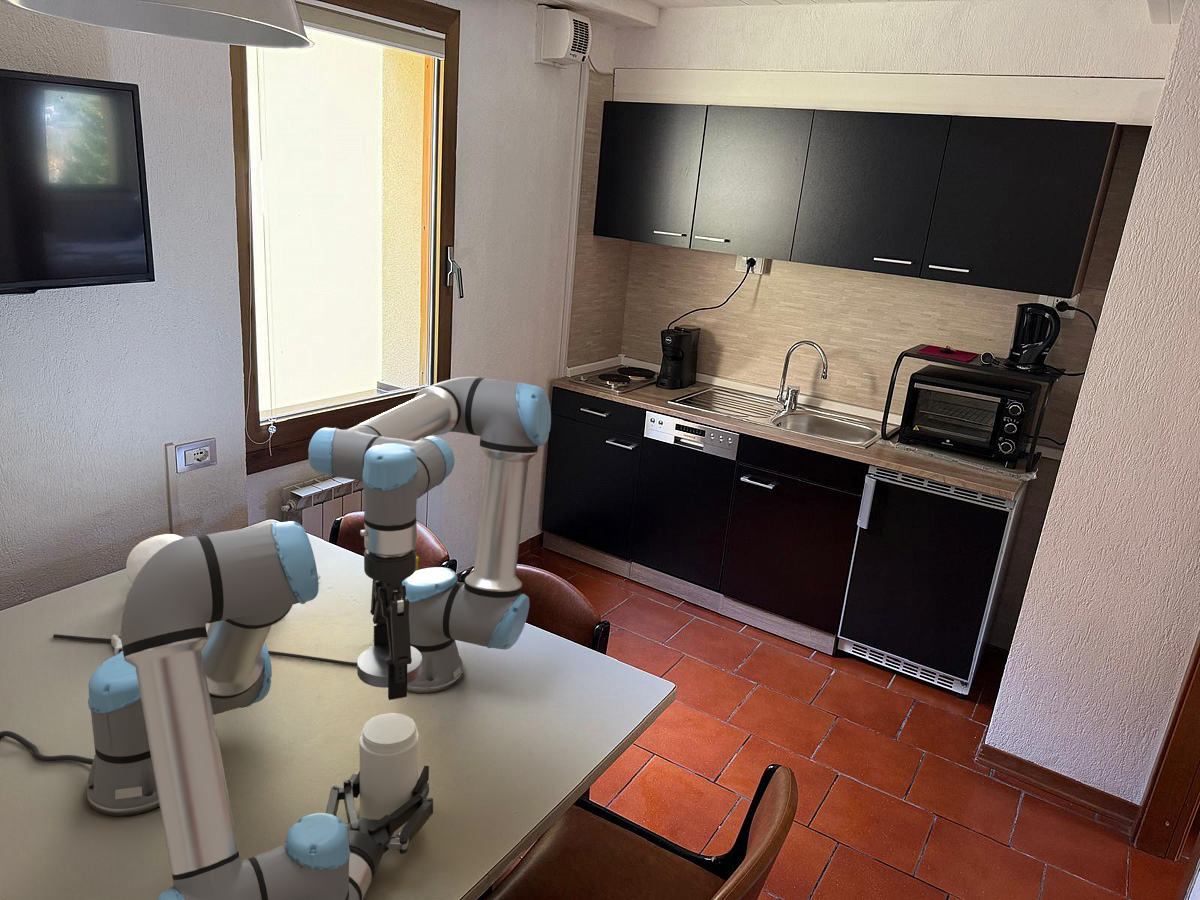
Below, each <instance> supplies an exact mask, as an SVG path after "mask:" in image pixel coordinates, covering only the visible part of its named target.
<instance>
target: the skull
mask: <svg viewBox="0 0 1200 900" xmlns="http://www.w3.org/2000/svg"><path fill="white" fill-rule="evenodd" d="M182 538H184V536H181V535H179V534H174V533H164V534H158V535H154V536H150V537H149V538H146V539H144V540H142V541H140V542H139V543H138V544H137V545H135V546H134V547H133V548H132V550H131V551H130V552H129V554H128V557H127V560H126V564H125V572H126V575H127V579H128V580H129V582H130V584H131V585H132V584H133V582H134V580H135V578H136V576H137V575H138V573H139V572H140V570H141V569H142V567H143V566H144V565H145V564H146V562H147V561H148V560H149V559H150V558H151V557H152V556H153V555H154V554H155V553H156V552H158V551H159V550H160V549H161V548H163V547H164V546H166V545H168V544H169V543H171V542H174V541H176V540H179V539H182Z"/></svg>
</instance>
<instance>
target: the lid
mask: <svg viewBox="0 0 1200 900" xmlns="http://www.w3.org/2000/svg"><path fill="white" fill-rule="evenodd" d="M411 658H412V663H411V664H407V684H408V683H410V682H412V681H414V680H415V679H416V678H417V677H418V676H419V675H420V673H421V671H422V655H421V653H420V652H419V651H418V650H417V649H416V648H414V647H412V646H411ZM389 659H390V652H389V643H384V644H379V645H375V646H374V645H373V646H370V647H368V648H366V649H364V650H363V651H362V652H361V653H359V655H358V657H357V660H356V663H357V666H356V671H357V672H356V673H357V678H359V680H360V681H361V682H363V683H364V684H366V685H368V686H371V687H375V688H382V689H385V688H387V689H388V665H386V663H385V661H387V660H389Z"/></svg>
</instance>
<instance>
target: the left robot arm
mask: <svg viewBox="0 0 1200 900" xmlns="http://www.w3.org/2000/svg"><path fill="white" fill-rule="evenodd" d="M317 573H318V568H317V563H316V559H315V554H314V551H313V547H312V544H311V542H310V538H309V536H308V534H307V531H306V530H305V528H304V527H303V526H302V524H300V523H299V522H297V521H293V520H290V521H289V520H288V521H279V522H278V521H272V522H271V523H269V524H263V525H258V526H251V527H250V526H249V527H245V528H239V529H232V530H226V531H220V532H214V533H206V534H202V535H192V536H186V537H183V538H182V539H179V540H176V541H174V542H171V543H169V544H168V545H166V546H164V547H163V548H161V549H160V550H159V551H158V552H156V553H155V554H154V555H153V556H152V557H151V558H150V559H149V560H148V561H147V562H146V564H145V565H144V566H143V567H142V569H141V570H140V572H139V573H138V575H137V576H136V578H135V580H134V582H133V584H132V583H131V587H130V588H129V591H128V593H127V596H126V599H125V602H124V606H123V611H122V614H121V622H120V636H121V643H122V649H123V652H122V653H119V654H117V655H115V654H114V655H113V656H111V657H109V658H108V659H107V660H105V661H103V662H102V663H101V664H100V665H99V666H98V667H96V668H95V670H94V671H93V672H92V674H91V676H90V677H89V680H88V700H87V705H88V709H89V711H90V715H91V725H92V736H93V745H94V753H95V754H94V757H93V758H90V757H85V756H81V755H73V754H62V755H61V754H60V755H44V754H41V752H40V751H39V749H38V747H37V746H36V745H35V744H34V743H32V742H30V741H29V740H28V739H27V738H25V737H24V736H22V735H21V734H18V733H17V732H15V731H11V730H2V731H0V739H1V738H3V737H8V738H11V739H13V740H14V741H16V742H18V743H20V744H21V745H22V746H23V747H24V748H26V749H28V750H30V752H31V753H32V756H33V757H34V758H35V759H36V760H37V761H40V762H63V761H66V762H67V761H70V762H77V763H81V764H85V765H91V768H90V771H89V774H88V777H87V781H86V790H85V791H86V800H87V802H88V804H89V806H90V808H92V809H93V810H94V811H96V812H98V813H100V814H103V815H108V816H115V817H124V816H125V817H126V816H133V815H140V814H143V813H146V812H149V811H153V810H155V809H157V808H159V809H160V816H161V820H162V821H161V822H162V827H163V832H164V838H165V843H166V844H165V845H166V849H167V855H168V861H169V866H170V867H169V868H170V872H171V877H172V887H169V888H168V889H167V890H164V891H162V892H160V894H159V895H158V897H157V900H364V898H365V895H366V894H367V892H368V889H369V887H370V885H371V883H372V880H373V879H374V876H375V875H376V871H377V870H378V867H379V865H380V863H381V861H382V859H383V856H384V854H386V853H387V852H388V851H389V850H390V849H392V850H393V849H396V850H399V851H398V852H399V854H401V855H403V854H407V853H408V851H409V847H410V845H411V842H412V841H413V839H414V838H415V837H416V836H417V834H418V833H419V832H420V831H421V830H422V828H423V827H424V825H426V823H427V822H428V821H429V820H430V818H431V817H432V816H433V814H434V798H433V797H428V796H429V794H430V783H429V780H430V765H424V766H423V768H422V770H421V773H420V775H419V776H418V781H417V784H416V786H415V788H414V790H413V798H412V799H410V800H409V801H408V802H406V803H405V804H404V805H402V806H401V807H400V808H398V809H397V810H396V811H394V812H393V813H392V814H390V815H389V816H388V815H385V816H384V817H383V818H381V819H380V820H376V819H373V820H370V819H367V818H360V817H359V816H358V815H359V814H358V811H357V807H356V802H355V799H358V798H359V797H360V770H359V771H358V773H352V775H350V778H349V779H347V780H344V781H343V787H341V786H339V785H332V787H330V792H329V796H328V801H327V804H326V805H327V806H326V811H325V812H316V813H315V812H314V813H310V814H307V815H305V816H302V817H300V818H299V820H298V821H296V823H294V824H292V825H291V827H289V829H288V831H287V834H286V840H284V841H285V843H284V844H283V845H281V846H280V845H279V846H278V847H276V848H273V849H270V850H268V851H264V852H263V853H259V854H257V855H255V856H251V857H250V858H247V859H244V860H242V859H241V856H240V848H239V841H238V837H237V832H236V826H235V821H234V816H233V811H232V806H231V801H230V796H229V789H228V786H227V778H226V775H225V768H224V763H223V759H222V753H221V752H222V751H221V748H220V742H219V736H218V732H217V727H216V722H215V721H216V720H215V716H216V715H219V714H222V713H226V712H230V711H233V710H236V709H244V708H248V707H250V706H252V705H253V704H256V703H259V702H261V701H263V700H264V699H265V698H266V697H267V695H268V694H269V691H270V690H271V686H272V679H271V678H272V676H273V675H272V673H273V670H272V668H273V667H272V660H271V655H270V654H269V653H268V651H269V650H268V648H267V645H266V640H267V638H268V635H269V633H270V631H271V629H272V626H274V625H276V624H278V623H279V622H281V621H282V620H283V619H284V618H285V617H286V616H287V615H288V613H290V611H291V609H292V607H293V605H297V604H301V605H305V604H306V603H307V602H310V601H314V599H316V598H317V596H318V593H319V580H318V574H319V573H318V574H317ZM207 624H209V626H208V629H207ZM264 642H265V644H264ZM340 801H343V803H344V808H345V809H344V810H345V815H346V820H347V824H346V823H344V821H343V820H342V819H341V818H340V817H338V816H337V813H338V809H339V803H340ZM406 822H407V823H406ZM405 823H406V824H405ZM404 824H405V826H404V827H403V829H402V831H401V832H400V831H399V832H398V834H397V835H396V836H395V837H391V836H392V835H393V833H394V832H395V831H396V830H397V829H399V828H400V827H401V826H402V825H404ZM390 837H391V838H390Z"/></svg>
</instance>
